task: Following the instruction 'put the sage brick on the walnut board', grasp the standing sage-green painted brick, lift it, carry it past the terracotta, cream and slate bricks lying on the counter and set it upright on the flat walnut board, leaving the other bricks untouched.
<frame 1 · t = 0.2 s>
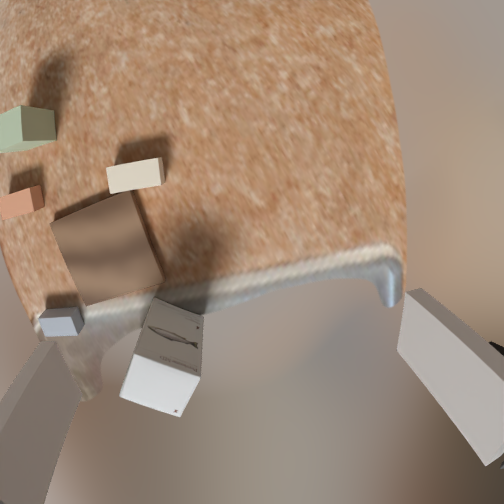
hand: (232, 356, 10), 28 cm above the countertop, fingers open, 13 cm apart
supplement box: (170, 325, 41), on the countertop
cream brick: (139, 173, 34), on the countertop
slate brick: (65, 316, 38), on the countertop
sage brick: (39, 130, 30), on the countertop
terracotta brick: (26, 200, 33), on the countertop
walnut board: (106, 249, 36), on the countertop
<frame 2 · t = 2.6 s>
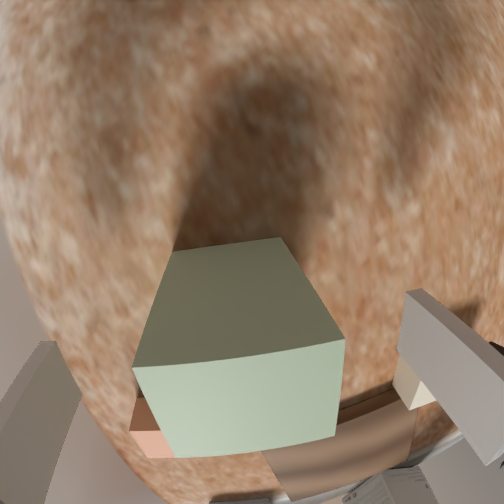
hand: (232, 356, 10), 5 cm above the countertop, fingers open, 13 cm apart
supplement box: (380, 481, 26), on the countertop
cream brick: (428, 357, 19), on the countertop
sage brick: (231, 283, 15), on the countertop
terracotta brick: (188, 407, 18), on the countertop
walnut board: (344, 448, 21), on the countertop
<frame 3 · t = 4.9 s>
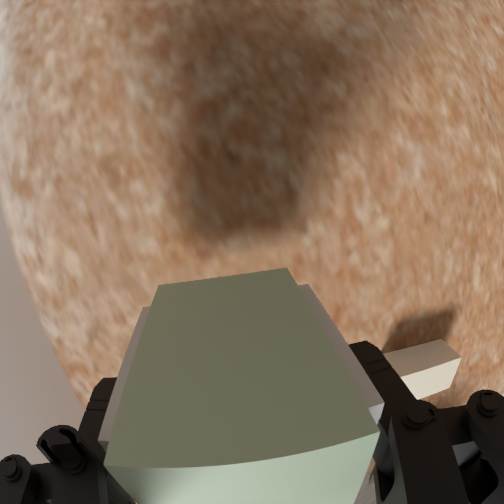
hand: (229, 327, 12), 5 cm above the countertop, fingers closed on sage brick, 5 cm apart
supplement box: (370, 484, 27), on the countertop
cream brick: (406, 361, 21), on the countertop
sage brick: (229, 321, 12), point 4 cm above the countertop, touching gripper
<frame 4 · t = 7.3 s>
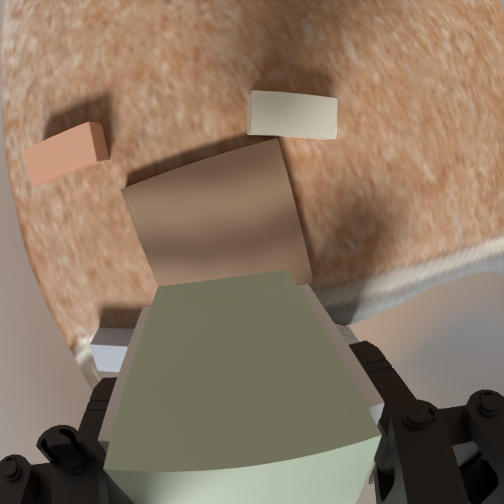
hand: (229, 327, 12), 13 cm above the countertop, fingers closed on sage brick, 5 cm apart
cream brick: (286, 118, 22), on the countertop
slate brick: (131, 340, 27), on the countertop
sage brick: (229, 322, 12), point 13 cm above the countertop, touching gripper
terracotta brick: (74, 153, 21), on the countertop
walnut board: (221, 234, 24), on the countertop
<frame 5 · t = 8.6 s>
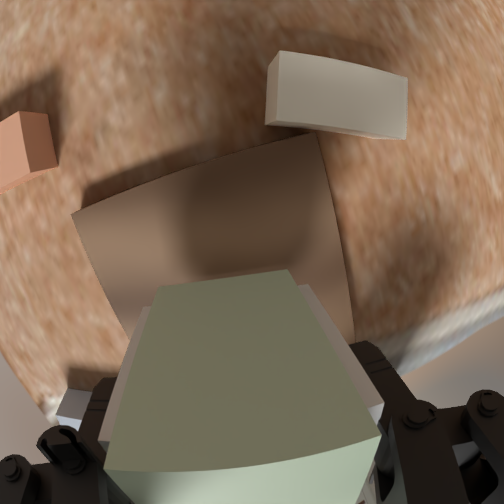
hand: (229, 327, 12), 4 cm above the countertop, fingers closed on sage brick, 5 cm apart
supplement box: (328, 407, 21), on the countertop
cream brick: (324, 102, 14), on the countertop
slate brick: (109, 405, 19), on the countertop
sage brick: (229, 323, 12), point 4 cm above the countertop, touching gripper
terracotta brick: (14, 159, 13), on the countertop
walnut board: (225, 279, 16), on the countertop
when the fingers open (3 cm above the countertop, at t = 9.7 s): sage brick stays where it is, resting on walnut board.
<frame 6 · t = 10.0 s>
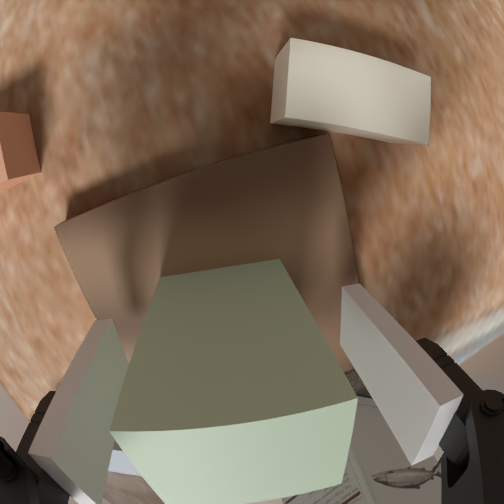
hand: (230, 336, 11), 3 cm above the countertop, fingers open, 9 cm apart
supplement box: (335, 425, 19), on the countertop
cream brick: (337, 101, 12), on the countertop
slate brick: (104, 425, 17), on the countertop
sage brick: (226, 310, 13), point 1 cm above the countertop, touching walnut board
walnut board: (226, 297, 14), on the countertop
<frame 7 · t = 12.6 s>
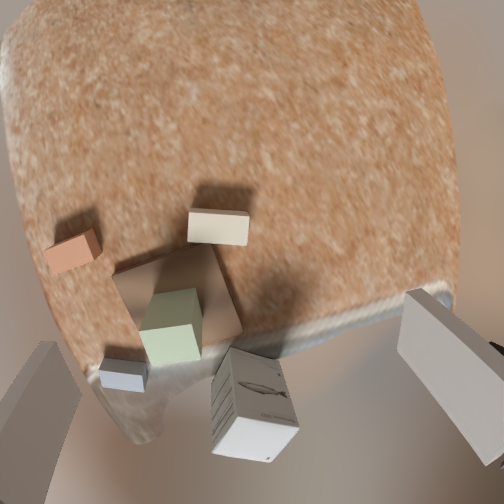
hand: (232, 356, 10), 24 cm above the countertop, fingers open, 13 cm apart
supplement box: (243, 371, 40), on the countertop
cream brick: (217, 222, 34), on the countertop
slate brick: (125, 367, 38), on the countertop
sage brick: (177, 306, 34), point 1 cm above the countertop, touching walnut board
terracotta brick: (77, 247, 32), on the countertop
walnut board: (179, 302, 36), on the countertop
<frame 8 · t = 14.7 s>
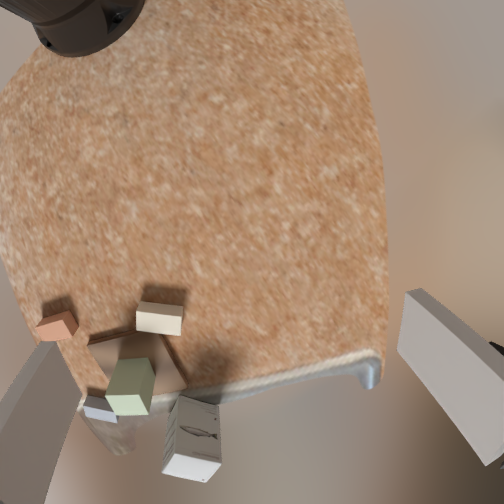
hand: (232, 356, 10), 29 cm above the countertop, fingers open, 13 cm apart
supplement box: (192, 411, 48), on the countertop
cream brick: (161, 312, 41), on the countertop
slate brick: (103, 403, 46), on the countertop
sage brick: (136, 368, 42), point 1 cm above the countertop, touching walnut board
terracotta brick: (60, 322, 40), on the countertop
walnut board: (138, 363, 43), on the countertop
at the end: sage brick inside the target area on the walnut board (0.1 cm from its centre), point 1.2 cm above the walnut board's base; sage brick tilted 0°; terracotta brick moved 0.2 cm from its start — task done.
